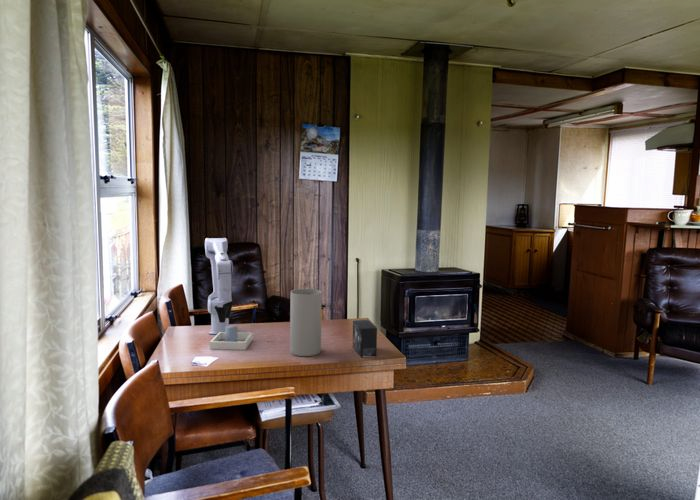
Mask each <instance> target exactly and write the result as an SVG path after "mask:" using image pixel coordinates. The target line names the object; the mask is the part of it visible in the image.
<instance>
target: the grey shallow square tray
mask: <svg viewBox="0 0 700 500" xmlns="http://www.w3.org/2000/svg"><path fill="white" fill-rule="evenodd" d="M253 336H254V334H253V332H238V341H242V342H225V341H221V340H226V337H225V332H219V333H218V334H215V336H214V337H213V338H212V339H211V340H210V341H209V350H241V351H242V350H245V351H246V350H247V348H248V347H249V346H250V344H251V342H252V341H253V338H254V337H253Z"/></svg>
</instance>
